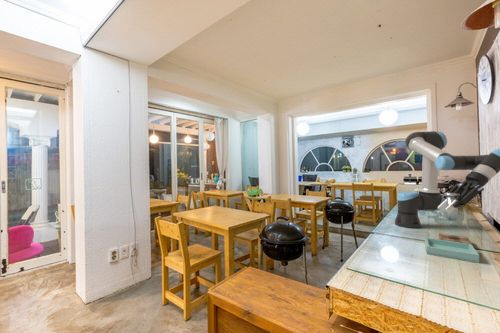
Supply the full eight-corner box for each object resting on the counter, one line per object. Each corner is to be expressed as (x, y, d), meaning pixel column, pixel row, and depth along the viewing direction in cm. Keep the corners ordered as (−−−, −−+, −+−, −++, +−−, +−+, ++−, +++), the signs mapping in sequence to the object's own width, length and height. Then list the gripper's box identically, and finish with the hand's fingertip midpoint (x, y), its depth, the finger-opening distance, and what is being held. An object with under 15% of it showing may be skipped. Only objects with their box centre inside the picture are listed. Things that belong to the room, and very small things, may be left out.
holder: (441, 244, 121) (441, 239, 121) (438, 238, 131) (438, 233, 131) (472, 249, 114) (472, 243, 114) (467, 242, 124) (467, 237, 124)
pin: (445, 220, 110) (445, 193, 110) (443, 218, 115) (443, 192, 115) (461, 222, 107) (461, 194, 107) (458, 219, 112) (458, 193, 112)
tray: (426, 254, 110) (427, 246, 110) (425, 244, 123) (425, 237, 123) (479, 263, 99) (479, 255, 99) (471, 251, 113) (471, 244, 112)
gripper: (504, 183, 101) (464, 220, 103) (470, 180, 118) (436, 212, 120) (491, 171, 102) (452, 208, 103) (459, 170, 119) (425, 202, 120)
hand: (443, 210), depth 111 cm, fingers closed on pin, 4 cm apart
